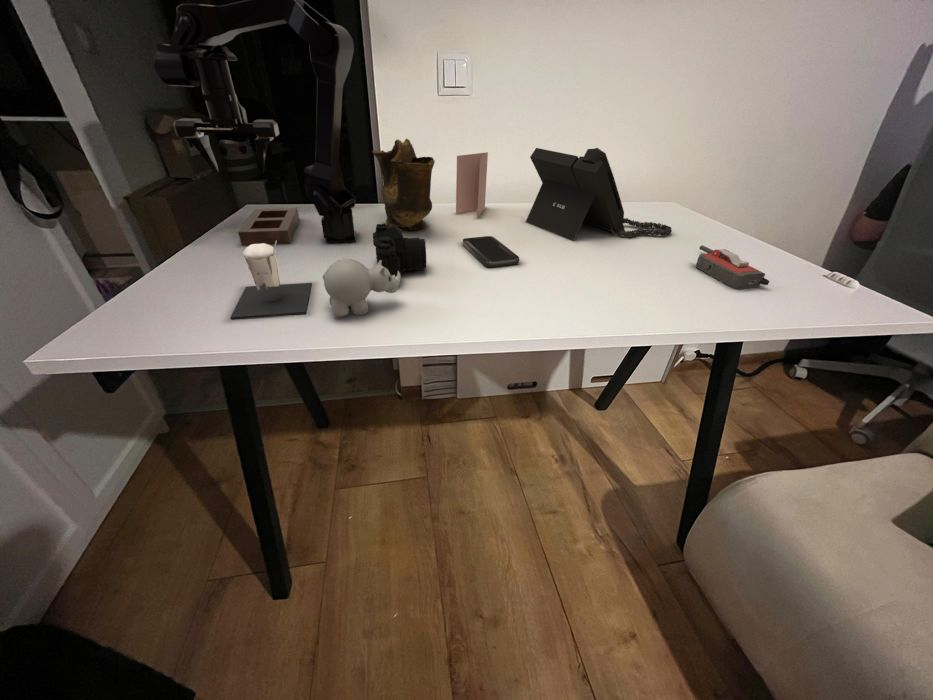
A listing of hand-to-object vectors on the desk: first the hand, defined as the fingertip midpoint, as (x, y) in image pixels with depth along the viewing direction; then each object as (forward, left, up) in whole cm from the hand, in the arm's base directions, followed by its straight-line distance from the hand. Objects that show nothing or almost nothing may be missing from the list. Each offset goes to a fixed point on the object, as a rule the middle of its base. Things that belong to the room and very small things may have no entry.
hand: (240, 172), depth 89 cm
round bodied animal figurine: (-25, +43, -13) cm, 51 cm away
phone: (-52, +22, -13) cm, 58 cm away
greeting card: (-57, -9, -13) cm, 59 cm away
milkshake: (-10, +38, -13) cm, 41 cm away
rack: (-4, +1, -13) cm, 14 cm away
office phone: (-86, +7, -13) cm, 87 cm away
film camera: (-32, +29, -13) cm, 45 cm away
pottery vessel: (-36, 0, -13) cm, 38 cm away
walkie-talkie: (-98, +38, -13) cm, 106 cm away
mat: (-10, +38, -13) cm, 41 cm away
